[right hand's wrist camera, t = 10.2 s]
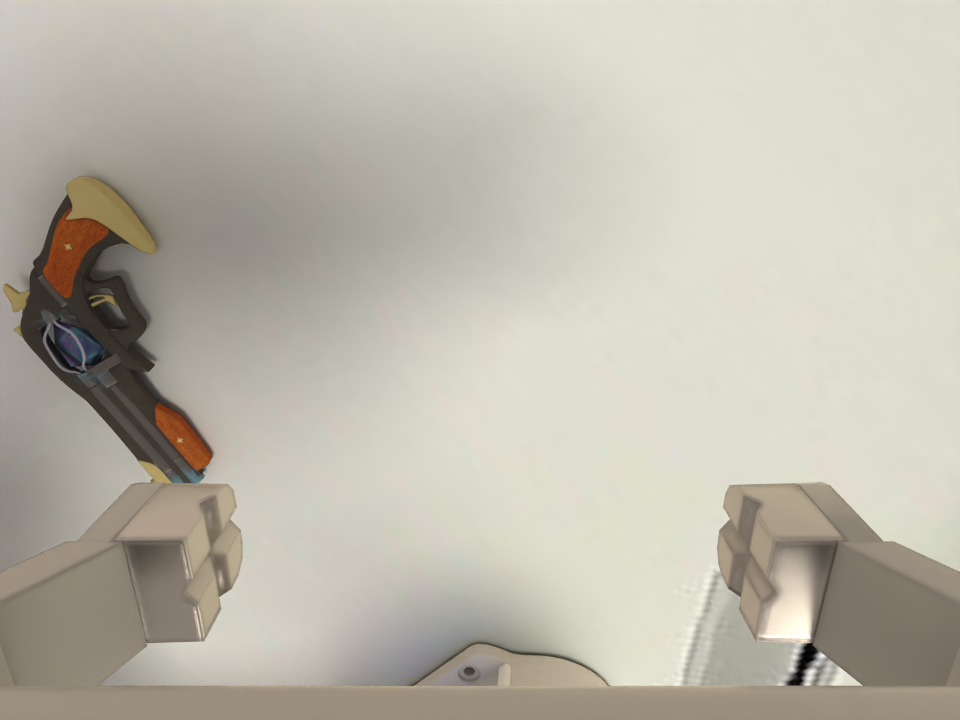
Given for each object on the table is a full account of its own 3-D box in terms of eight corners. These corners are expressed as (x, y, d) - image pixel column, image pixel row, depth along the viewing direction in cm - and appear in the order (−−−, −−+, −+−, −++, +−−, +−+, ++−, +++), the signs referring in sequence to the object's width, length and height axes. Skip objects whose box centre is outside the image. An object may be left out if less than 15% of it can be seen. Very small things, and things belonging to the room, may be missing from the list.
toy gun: (84, 169, 34) (-72, 260, 34) (290, 439, 41) (158, 510, 42) (105, 164, 36) (-41, 250, 37) (295, 420, 43) (171, 488, 44)
